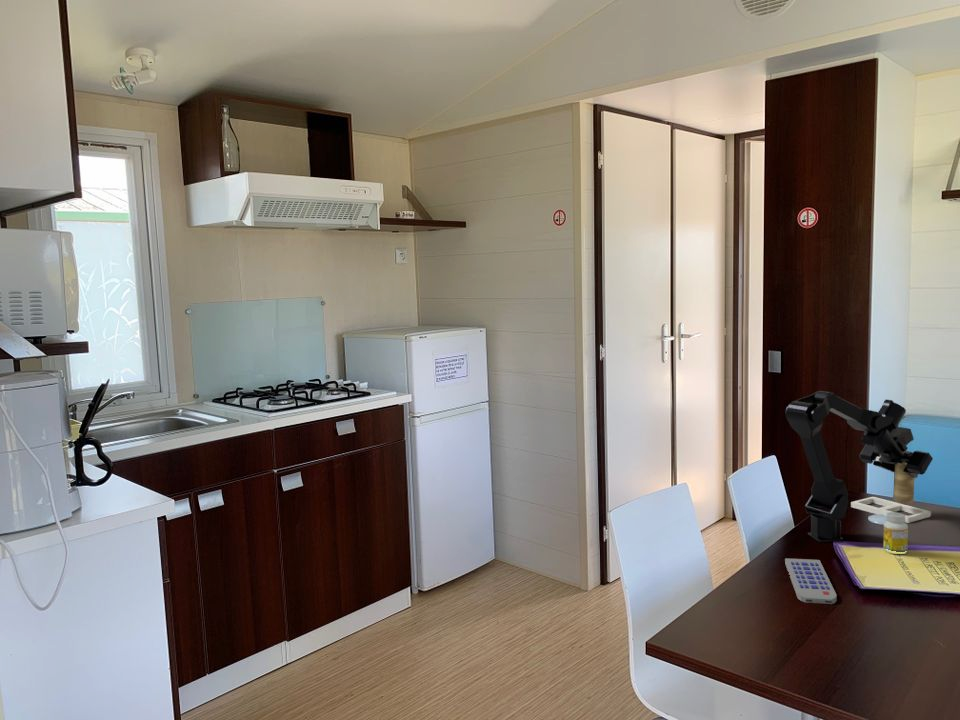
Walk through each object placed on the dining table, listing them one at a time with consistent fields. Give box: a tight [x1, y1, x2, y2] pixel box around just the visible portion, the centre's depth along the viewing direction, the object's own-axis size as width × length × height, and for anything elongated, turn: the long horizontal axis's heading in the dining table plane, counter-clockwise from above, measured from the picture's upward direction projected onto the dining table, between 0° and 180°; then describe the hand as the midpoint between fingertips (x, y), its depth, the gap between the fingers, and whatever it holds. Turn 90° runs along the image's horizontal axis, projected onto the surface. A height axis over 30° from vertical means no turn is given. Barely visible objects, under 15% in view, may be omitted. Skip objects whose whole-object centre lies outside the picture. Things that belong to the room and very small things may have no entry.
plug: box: [893, 450, 916, 504], centre depth 213 cm, size 5×5×14 cm
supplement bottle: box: [883, 512, 909, 552], centre depth 188 cm, size 5×5×10 cm
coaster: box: [867, 514, 906, 526], centre depth 211 cm, size 9×9×1 cm
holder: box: [850, 496, 932, 524], centre depth 218 cm, size 10×18×2 cm, turn 26°
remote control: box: [784, 558, 838, 605], centre depth 172 cm, size 8×23×2 cm, turn 165°
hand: (907, 474), depth 214 cm, fingers closed on plug, 5 cm apart
